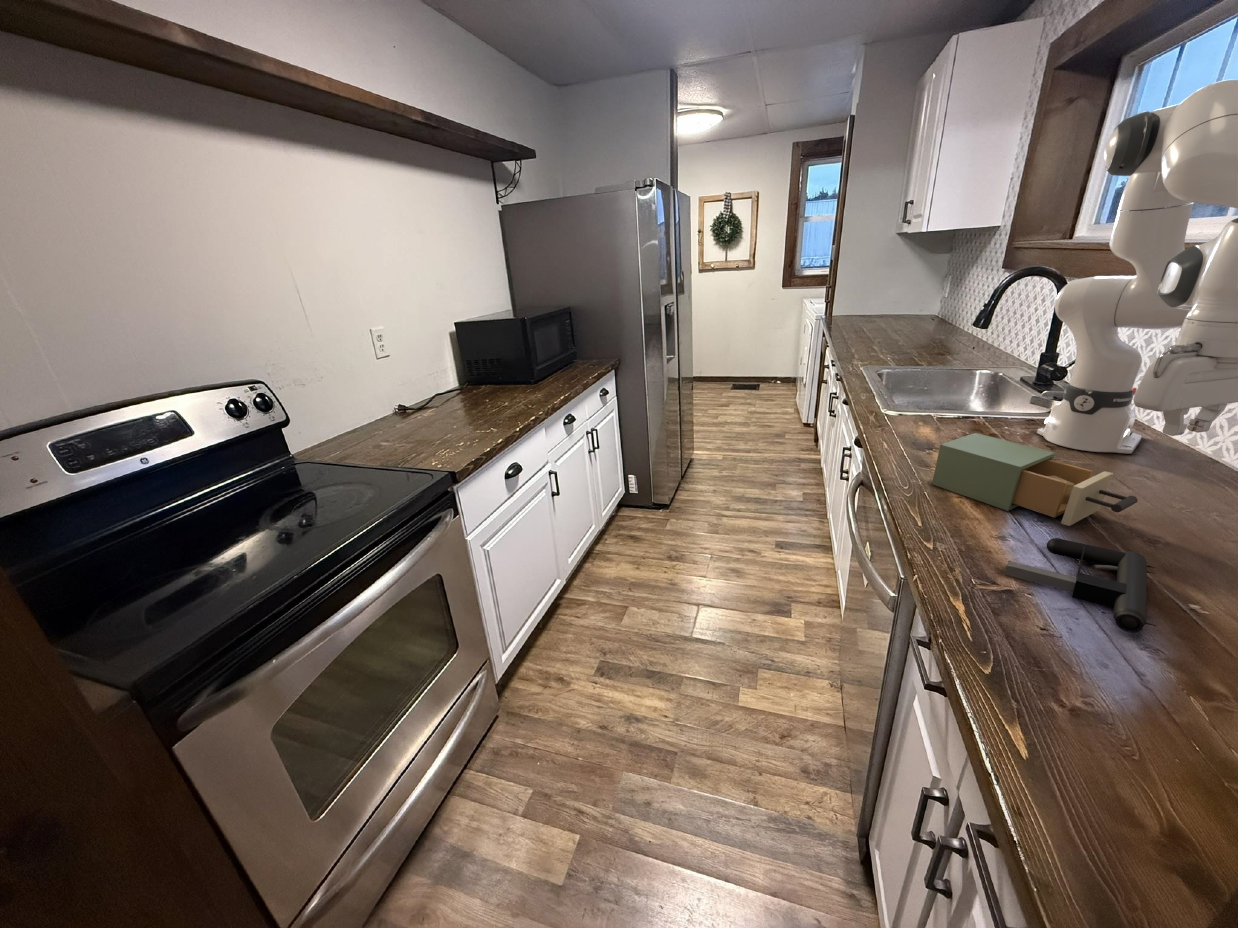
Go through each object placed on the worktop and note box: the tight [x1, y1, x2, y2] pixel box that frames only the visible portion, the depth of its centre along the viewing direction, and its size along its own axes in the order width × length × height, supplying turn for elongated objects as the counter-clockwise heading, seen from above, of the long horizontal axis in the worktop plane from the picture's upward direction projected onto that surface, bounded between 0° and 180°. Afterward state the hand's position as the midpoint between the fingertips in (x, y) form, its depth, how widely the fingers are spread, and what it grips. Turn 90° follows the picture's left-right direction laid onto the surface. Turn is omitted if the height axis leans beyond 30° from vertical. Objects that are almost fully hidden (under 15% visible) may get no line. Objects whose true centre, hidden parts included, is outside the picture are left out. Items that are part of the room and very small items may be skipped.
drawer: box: [1012, 459, 1138, 527], centre depth 91 cm, size 18×11×7 cm, turn 28°
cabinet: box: [931, 432, 1056, 512], centre depth 101 cm, size 15×13×9 cm
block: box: [1047, 476, 1075, 504], centre depth 92 cm, size 4×4×4 cm
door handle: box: [1004, 537, 1157, 633], centre depth 73 cm, size 3×20×16 cm
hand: (1184, 432), depth 76 cm, fingers open, 3 cm apart
